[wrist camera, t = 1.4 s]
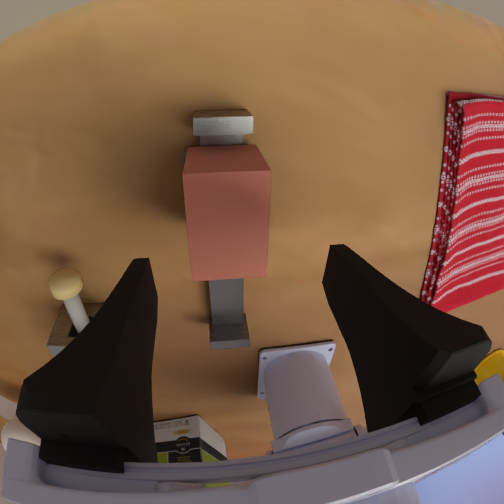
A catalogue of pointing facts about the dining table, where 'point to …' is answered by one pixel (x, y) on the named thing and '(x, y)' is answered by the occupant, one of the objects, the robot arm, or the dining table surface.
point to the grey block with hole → (67, 328)
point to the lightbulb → (18, 433)
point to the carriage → (227, 211)
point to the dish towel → (469, 205)
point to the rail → (226, 290)
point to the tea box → (188, 442)
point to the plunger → (70, 294)
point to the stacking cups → (490, 367)
